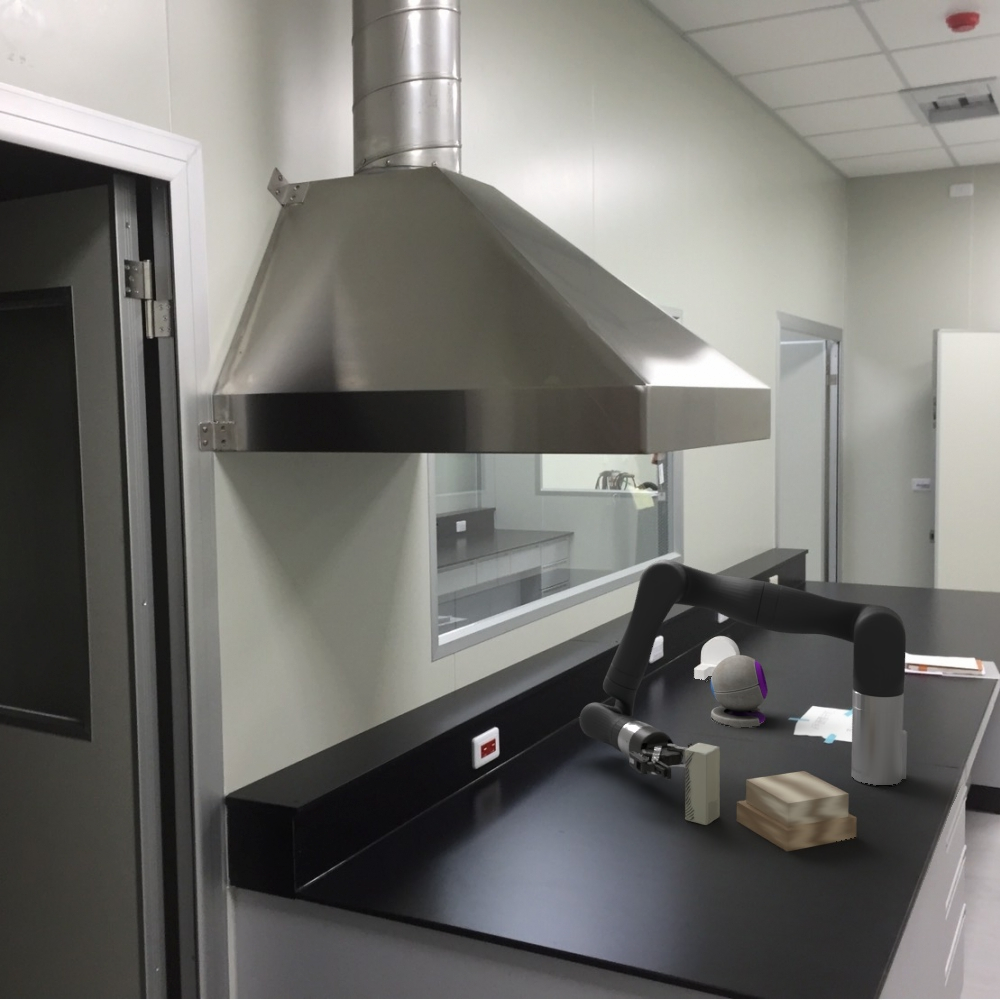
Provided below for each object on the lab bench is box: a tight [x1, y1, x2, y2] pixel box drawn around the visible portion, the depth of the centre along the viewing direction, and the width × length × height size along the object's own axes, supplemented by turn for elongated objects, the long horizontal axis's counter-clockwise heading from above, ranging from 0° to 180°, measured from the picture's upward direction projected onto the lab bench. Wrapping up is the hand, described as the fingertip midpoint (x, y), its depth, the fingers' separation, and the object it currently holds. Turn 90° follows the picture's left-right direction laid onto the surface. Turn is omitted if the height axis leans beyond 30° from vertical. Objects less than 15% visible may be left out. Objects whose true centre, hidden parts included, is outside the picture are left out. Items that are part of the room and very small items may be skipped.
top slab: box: [745, 770, 850, 827], centre depth 180 cm, size 12×12×4 cm
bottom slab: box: [736, 799, 858, 852], centre depth 180 cm, size 14×14×4 cm
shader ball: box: [710, 654, 769, 728], centre depth 244 cm, size 13×13×15 cm
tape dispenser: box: [693, 635, 741, 680], centre depth 285 cm, size 10×18×11 cm, turn 153°
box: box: [684, 742, 721, 826], centre depth 185 cm, size 5×4×13 cm
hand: (690, 770), depth 188 cm, fingers open, 8 cm apart
